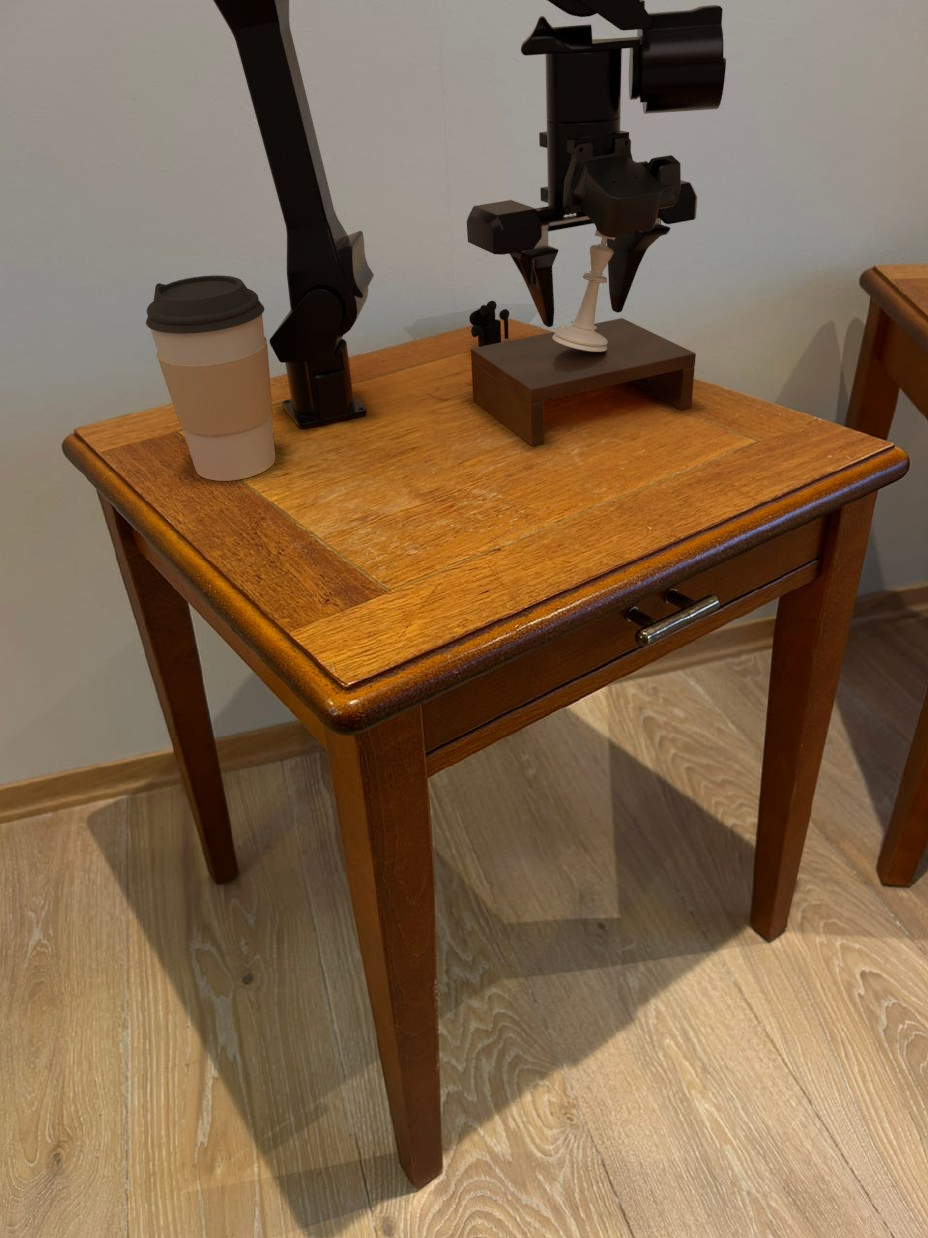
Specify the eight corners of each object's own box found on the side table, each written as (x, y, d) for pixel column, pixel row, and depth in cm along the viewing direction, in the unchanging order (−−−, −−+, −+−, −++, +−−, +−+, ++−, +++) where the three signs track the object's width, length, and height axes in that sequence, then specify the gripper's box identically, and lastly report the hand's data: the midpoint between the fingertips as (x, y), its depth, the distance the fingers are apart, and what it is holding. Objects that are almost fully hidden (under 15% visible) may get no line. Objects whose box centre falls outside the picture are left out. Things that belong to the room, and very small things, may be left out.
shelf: (473, 400, 91) (470, 348, 88) (620, 368, 95) (622, 317, 93) (531, 446, 81) (531, 389, 78) (691, 408, 86) (696, 353, 83)
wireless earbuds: (478, 362, 99) (476, 313, 96) (458, 359, 100) (455, 310, 97) (513, 342, 104) (512, 294, 101) (493, 339, 105) (491, 291, 102)
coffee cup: (288, 435, 86) (259, 261, 78) (290, 478, 79) (258, 291, 70) (185, 447, 85) (144, 272, 77) (177, 492, 78) (131, 304, 69)
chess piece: (604, 355, 83) (636, 233, 78) (549, 342, 83) (576, 219, 78) (608, 344, 87) (638, 227, 82) (555, 332, 88) (581, 215, 83)
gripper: (523, 145, 66) (529, 366, 75) (747, 112, 72) (729, 322, 81) (457, 128, 75) (470, 329, 84) (662, 100, 80) (654, 291, 89)
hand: (582, 318), depth 84 cm, fingers open, 6 cm apart
